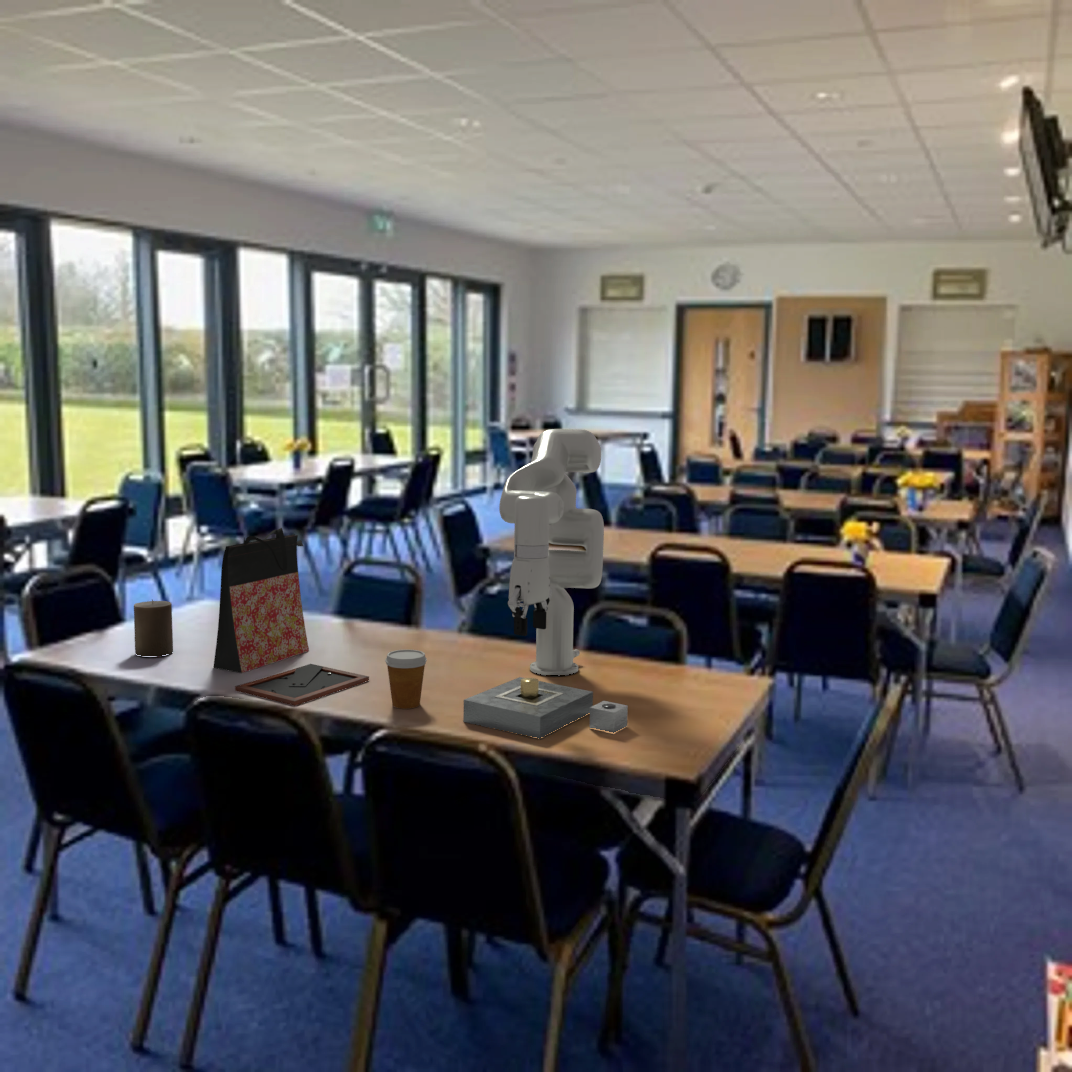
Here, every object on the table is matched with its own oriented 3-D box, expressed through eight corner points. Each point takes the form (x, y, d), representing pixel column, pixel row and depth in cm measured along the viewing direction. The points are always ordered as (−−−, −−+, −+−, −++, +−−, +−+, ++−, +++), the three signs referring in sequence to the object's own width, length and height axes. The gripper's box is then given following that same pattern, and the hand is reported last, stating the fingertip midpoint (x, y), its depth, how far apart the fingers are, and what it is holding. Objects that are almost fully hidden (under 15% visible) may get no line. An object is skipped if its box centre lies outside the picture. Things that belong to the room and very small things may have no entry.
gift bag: (250, 674, 263) (246, 537, 257) (208, 667, 269) (204, 532, 264) (325, 649, 288) (323, 524, 283) (285, 643, 295) (283, 520, 290)
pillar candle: (165, 658, 276) (163, 603, 274) (128, 657, 276) (127, 602, 274) (178, 649, 286) (177, 596, 284) (143, 648, 286) (141, 595, 284)
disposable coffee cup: (377, 704, 240) (376, 653, 238) (409, 696, 247) (409, 646, 245) (402, 714, 234) (402, 662, 232) (435, 705, 240) (435, 654, 238)
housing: (603, 722, 230) (603, 700, 230) (627, 727, 227) (627, 704, 226) (589, 729, 225) (589, 706, 225) (613, 735, 222) (614, 711, 221)
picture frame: (311, 670, 270) (235, 693, 249) (311, 662, 269) (234, 685, 249) (369, 683, 259) (294, 708, 238) (369, 675, 259) (294, 700, 238)
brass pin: (526, 697, 235) (527, 676, 234) (541, 700, 233) (542, 679, 232) (516, 701, 231) (517, 680, 231) (531, 705, 229) (532, 684, 229)
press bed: (519, 697, 247) (519, 676, 246) (592, 713, 236) (593, 690, 236) (463, 721, 229) (463, 698, 228) (539, 739, 218) (540, 715, 217)
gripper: (538, 545, 236) (537, 622, 239) (494, 555, 222) (493, 636, 225) (566, 548, 232) (565, 626, 235) (523, 559, 218) (522, 642, 221)
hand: (530, 631), depth 230 cm, fingers open, 6 cm apart
